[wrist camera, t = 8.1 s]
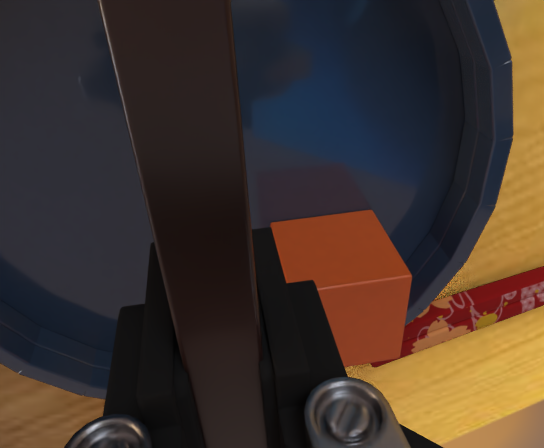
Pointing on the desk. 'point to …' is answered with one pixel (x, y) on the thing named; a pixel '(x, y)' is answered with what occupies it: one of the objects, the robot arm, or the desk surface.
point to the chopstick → (472, 311)
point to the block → (350, 280)
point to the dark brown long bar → (196, 197)
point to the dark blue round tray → (258, 153)
